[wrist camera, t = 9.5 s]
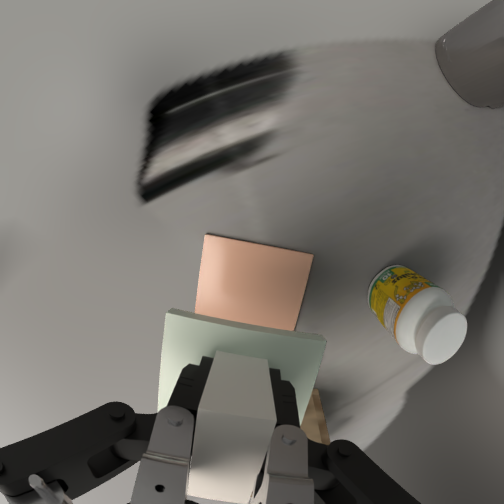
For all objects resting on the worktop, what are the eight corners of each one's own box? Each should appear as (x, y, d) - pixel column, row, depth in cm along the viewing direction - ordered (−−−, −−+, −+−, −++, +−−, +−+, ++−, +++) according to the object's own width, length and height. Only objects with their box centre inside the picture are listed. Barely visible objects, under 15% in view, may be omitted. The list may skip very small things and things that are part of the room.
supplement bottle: (362, 318, 24) (404, 379, 14) (369, 263, 23) (425, 305, 13) (409, 315, 24) (460, 366, 14) (418, 263, 22) (482, 299, 13)
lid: (321, 334, 13) (366, 390, 7) (286, 445, 13) (300, 518, 7) (172, 307, 13) (119, 350, 7) (161, 424, 13) (128, 491, 7)
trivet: (312, 254, 23) (313, 255, 22) (290, 337, 24) (291, 339, 24) (206, 233, 23) (205, 234, 22) (194, 319, 24) (193, 321, 24)
